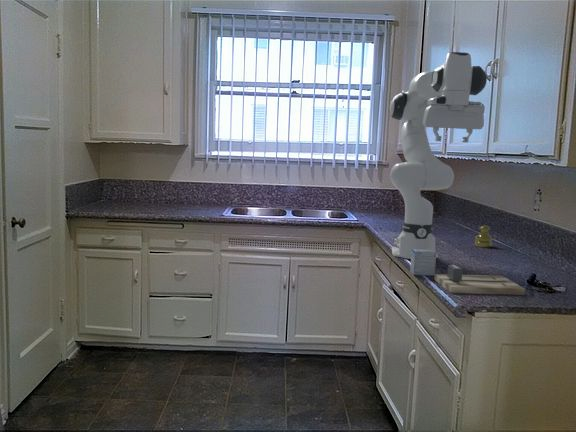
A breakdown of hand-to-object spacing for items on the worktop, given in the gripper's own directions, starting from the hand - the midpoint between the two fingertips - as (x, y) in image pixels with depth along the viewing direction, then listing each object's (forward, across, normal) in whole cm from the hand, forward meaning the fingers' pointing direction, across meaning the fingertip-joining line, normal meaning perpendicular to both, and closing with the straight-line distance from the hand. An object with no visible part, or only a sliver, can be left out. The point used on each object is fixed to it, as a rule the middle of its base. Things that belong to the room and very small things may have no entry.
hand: (451, 141), depth 176 cm
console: (+47, -8, +13) cm, 50 cm away
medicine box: (+48, +6, -2) cm, 48 cm away
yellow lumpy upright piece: (+47, -41, -60) cm, 87 cm away
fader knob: (+45, 0, +13) cm, 47 cm away
